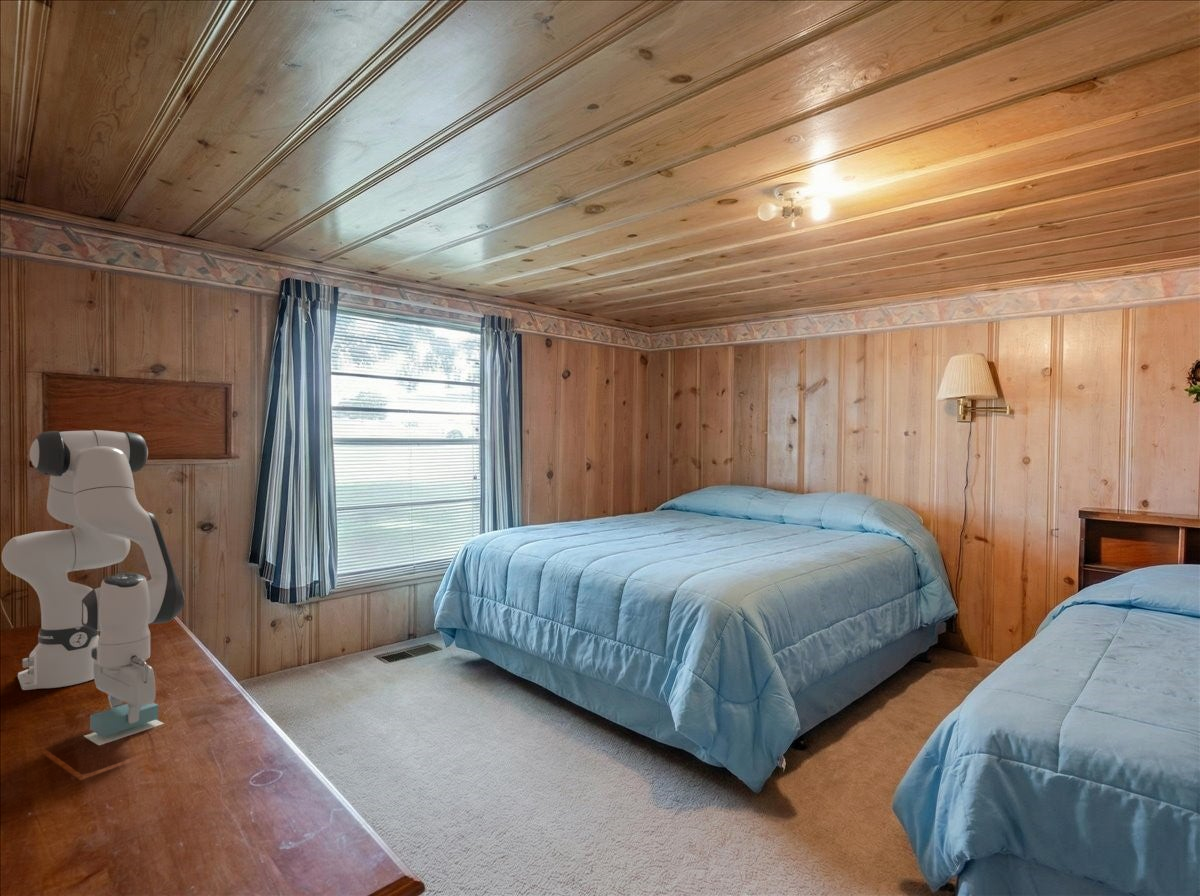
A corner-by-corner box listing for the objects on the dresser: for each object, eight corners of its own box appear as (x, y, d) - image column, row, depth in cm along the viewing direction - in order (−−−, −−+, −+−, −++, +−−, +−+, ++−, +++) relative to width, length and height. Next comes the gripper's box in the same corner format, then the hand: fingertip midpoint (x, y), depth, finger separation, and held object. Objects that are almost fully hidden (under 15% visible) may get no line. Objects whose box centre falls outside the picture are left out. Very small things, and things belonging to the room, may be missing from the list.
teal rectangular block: (145, 711, 138) (145, 698, 138) (158, 718, 134) (158, 704, 134) (90, 729, 129) (90, 714, 129) (102, 737, 126) (102, 722, 126)
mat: (68, 731, 133) (68, 727, 133) (164, 702, 148) (164, 699, 148) (102, 751, 123) (102, 748, 123) (200, 718, 139) (200, 715, 139)
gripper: (164, 656, 129) (164, 723, 129) (121, 640, 140) (121, 702, 140) (128, 665, 124) (128, 735, 124) (87, 648, 134) (87, 712, 134)
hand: (124, 717), depth 132 cm, fingers closed on teal rectangular block, 6 cm apart
